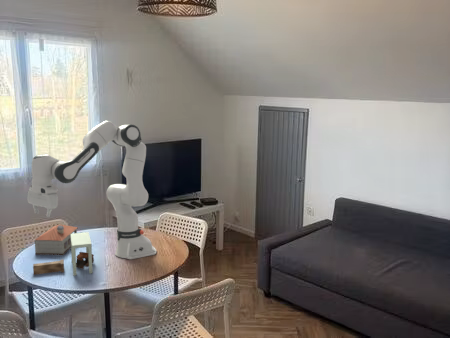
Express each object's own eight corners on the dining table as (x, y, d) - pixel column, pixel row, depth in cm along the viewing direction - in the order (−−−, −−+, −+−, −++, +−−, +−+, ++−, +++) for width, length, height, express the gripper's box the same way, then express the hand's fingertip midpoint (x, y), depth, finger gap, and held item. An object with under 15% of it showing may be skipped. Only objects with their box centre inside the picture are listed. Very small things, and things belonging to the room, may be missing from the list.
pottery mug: (69, 266, 218) (74, 250, 221) (86, 270, 224) (90, 254, 227) (81, 268, 210) (86, 251, 212) (97, 271, 216) (102, 255, 219)
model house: (63, 256, 233) (62, 229, 230) (35, 255, 233) (33, 229, 230) (79, 241, 256) (78, 217, 253) (53, 240, 256) (52, 217, 254)
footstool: (89, 259, 227) (88, 232, 225) (92, 273, 210) (91, 243, 207) (71, 261, 224) (70, 233, 221) (73, 276, 207) (72, 245, 204)
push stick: (63, 267, 217) (63, 259, 216) (64, 272, 211) (63, 263, 210) (34, 271, 211) (33, 262, 211) (33, 276, 206) (33, 267, 205)
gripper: (23, 185, 210) (24, 212, 212) (48, 191, 199) (49, 219, 201) (35, 184, 215) (36, 210, 217) (60, 189, 204) (60, 217, 206)
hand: (42, 215), depth 209 cm, fingers open, 8 cm apart
